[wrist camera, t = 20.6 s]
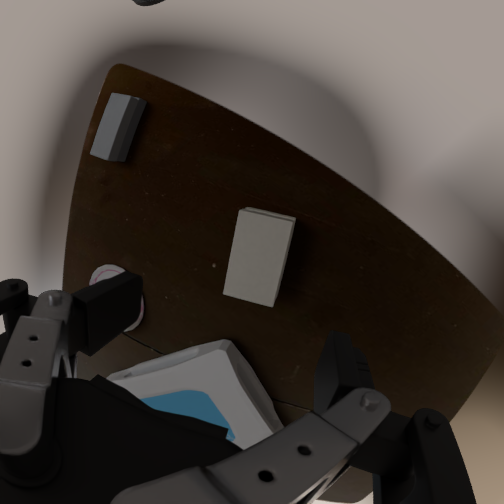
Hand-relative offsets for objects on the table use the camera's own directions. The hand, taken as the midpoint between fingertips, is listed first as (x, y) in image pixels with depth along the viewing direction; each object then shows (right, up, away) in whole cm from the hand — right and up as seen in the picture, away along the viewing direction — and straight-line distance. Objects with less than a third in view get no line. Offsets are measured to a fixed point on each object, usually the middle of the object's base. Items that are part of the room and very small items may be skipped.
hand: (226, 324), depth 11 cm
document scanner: (-9, -24, +35) cm, 44 cm away
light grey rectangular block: (+2, +2, +23) cm, 24 cm away
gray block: (-19, +22, +28) cm, 40 cm away
